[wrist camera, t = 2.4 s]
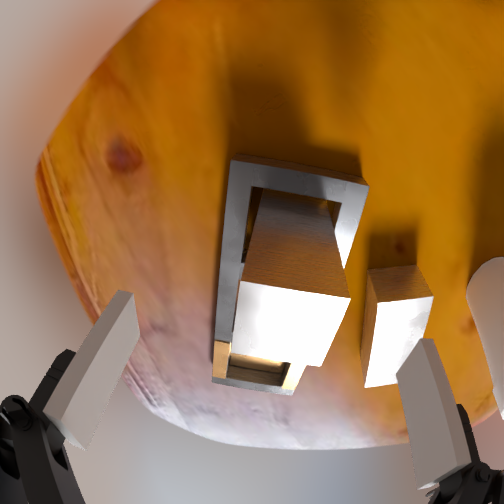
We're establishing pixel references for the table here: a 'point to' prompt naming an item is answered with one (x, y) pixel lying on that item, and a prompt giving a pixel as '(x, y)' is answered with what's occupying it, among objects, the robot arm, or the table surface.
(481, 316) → the foam cup
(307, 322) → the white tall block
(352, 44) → the table surface
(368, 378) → the block
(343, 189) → the grey flat frame
